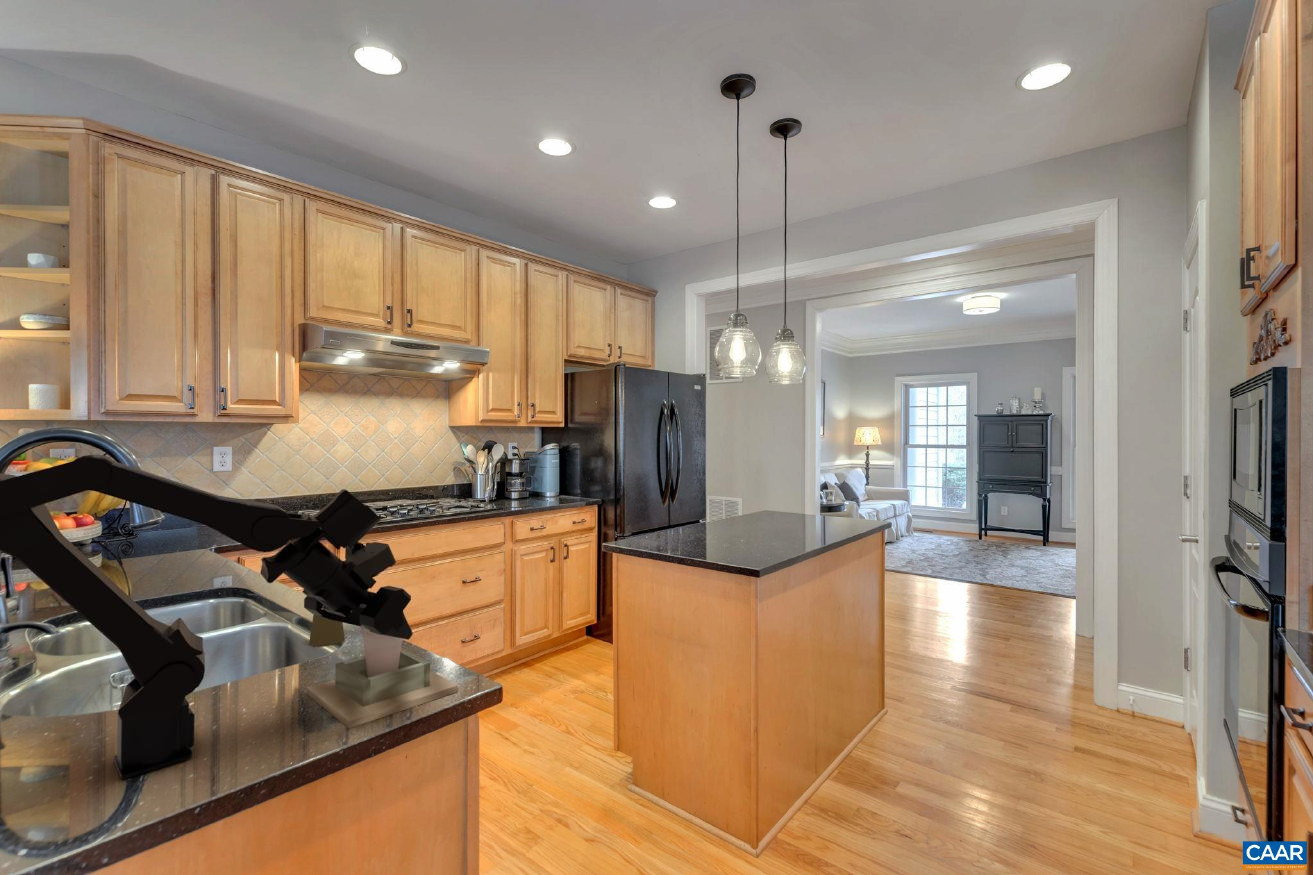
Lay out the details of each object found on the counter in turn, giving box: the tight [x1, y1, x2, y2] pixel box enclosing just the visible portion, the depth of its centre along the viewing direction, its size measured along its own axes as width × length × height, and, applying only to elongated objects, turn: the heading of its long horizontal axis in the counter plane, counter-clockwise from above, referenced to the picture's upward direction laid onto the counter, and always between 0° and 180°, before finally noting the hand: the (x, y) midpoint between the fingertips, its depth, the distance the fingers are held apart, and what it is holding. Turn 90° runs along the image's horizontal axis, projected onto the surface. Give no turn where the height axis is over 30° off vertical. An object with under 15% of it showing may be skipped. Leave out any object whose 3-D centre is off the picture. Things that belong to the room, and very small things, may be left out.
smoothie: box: [359, 625, 403, 678], centre depth 91 cm, size 6×6×14 cm
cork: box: [308, 614, 346, 648], centre depth 115 cm, size 6×6×11 cm
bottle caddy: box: [306, 647, 459, 729], centre depth 92 cm, size 16×16×4 cm
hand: (391, 631), depth 93 cm, fingers open, 9 cm apart
